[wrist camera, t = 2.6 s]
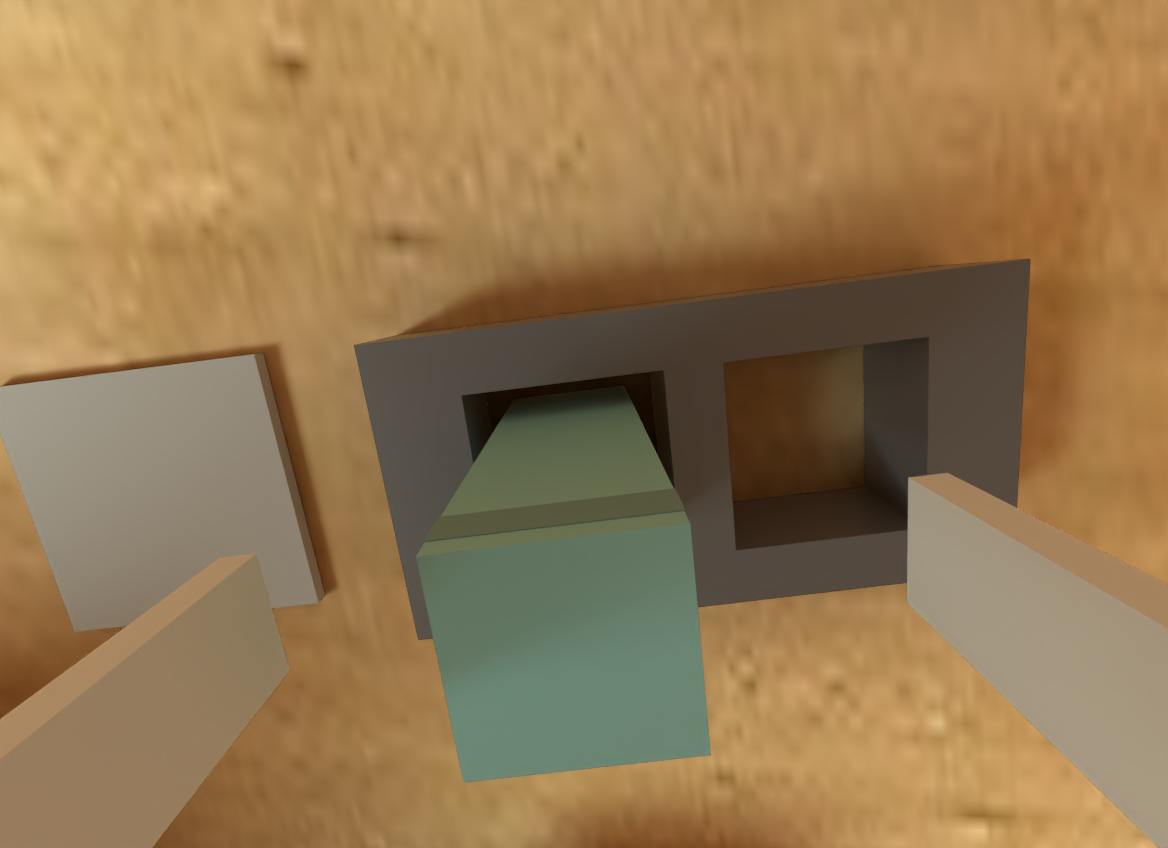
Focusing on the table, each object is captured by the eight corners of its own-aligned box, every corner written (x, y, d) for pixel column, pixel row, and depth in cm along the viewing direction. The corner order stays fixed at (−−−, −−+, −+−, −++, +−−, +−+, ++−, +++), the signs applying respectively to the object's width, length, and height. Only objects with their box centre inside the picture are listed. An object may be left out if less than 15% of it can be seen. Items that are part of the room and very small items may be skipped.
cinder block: (445, 581, 23) (418, 640, 19) (396, 335, 21) (354, 345, 17) (938, 522, 22) (1013, 570, 19) (943, 265, 20) (1030, 258, 16)
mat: (87, 623, 23) (74, 632, 23) (0, 386, 21) (-17, 388, 20) (325, 595, 23) (318, 603, 22) (263, 352, 21) (254, 354, 20)
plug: (529, 503, 22) (462, 783, 10) (513, 398, 21) (414, 555, 9) (636, 490, 22) (712, 755, 9) (624, 384, 21) (691, 522, 8)
